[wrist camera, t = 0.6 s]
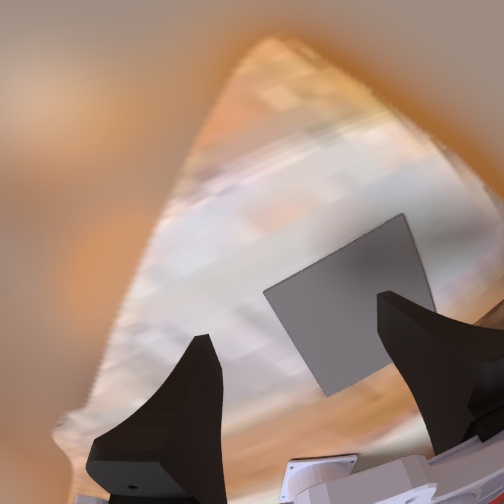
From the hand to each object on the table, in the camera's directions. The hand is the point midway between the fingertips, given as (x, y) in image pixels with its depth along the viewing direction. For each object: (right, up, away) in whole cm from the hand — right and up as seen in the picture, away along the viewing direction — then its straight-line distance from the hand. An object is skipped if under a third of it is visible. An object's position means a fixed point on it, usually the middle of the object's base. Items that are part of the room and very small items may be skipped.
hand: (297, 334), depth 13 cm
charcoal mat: (+7, -2, +12) cm, 14 cm away
